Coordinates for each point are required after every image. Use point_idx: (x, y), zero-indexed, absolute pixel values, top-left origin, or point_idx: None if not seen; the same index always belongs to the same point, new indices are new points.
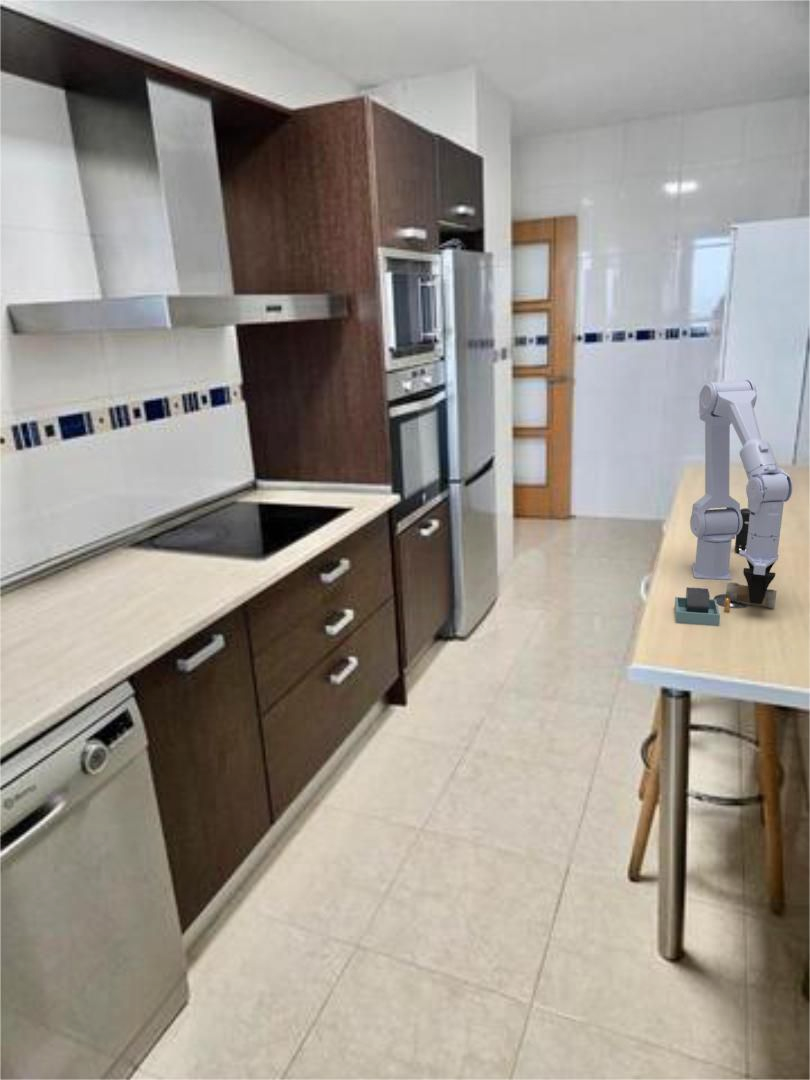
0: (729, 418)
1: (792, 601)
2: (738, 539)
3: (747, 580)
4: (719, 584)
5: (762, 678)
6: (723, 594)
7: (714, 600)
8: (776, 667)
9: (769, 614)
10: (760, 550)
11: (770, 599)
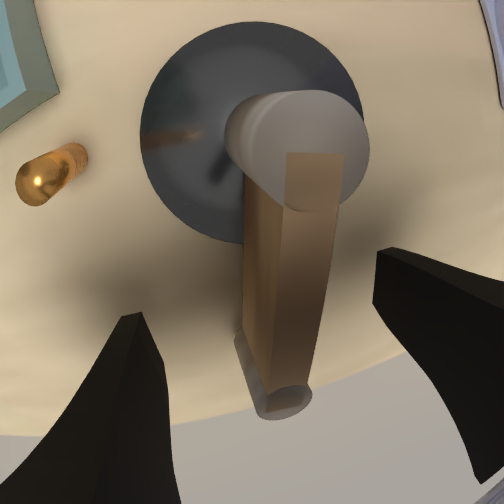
0: None
1: (372, 348)
2: None
3: (16, 477)
4: (462, 56)
5: None
6: (342, 71)
7: (7, 88)
8: None
9: (188, 342)
10: None
11: (245, 377)
